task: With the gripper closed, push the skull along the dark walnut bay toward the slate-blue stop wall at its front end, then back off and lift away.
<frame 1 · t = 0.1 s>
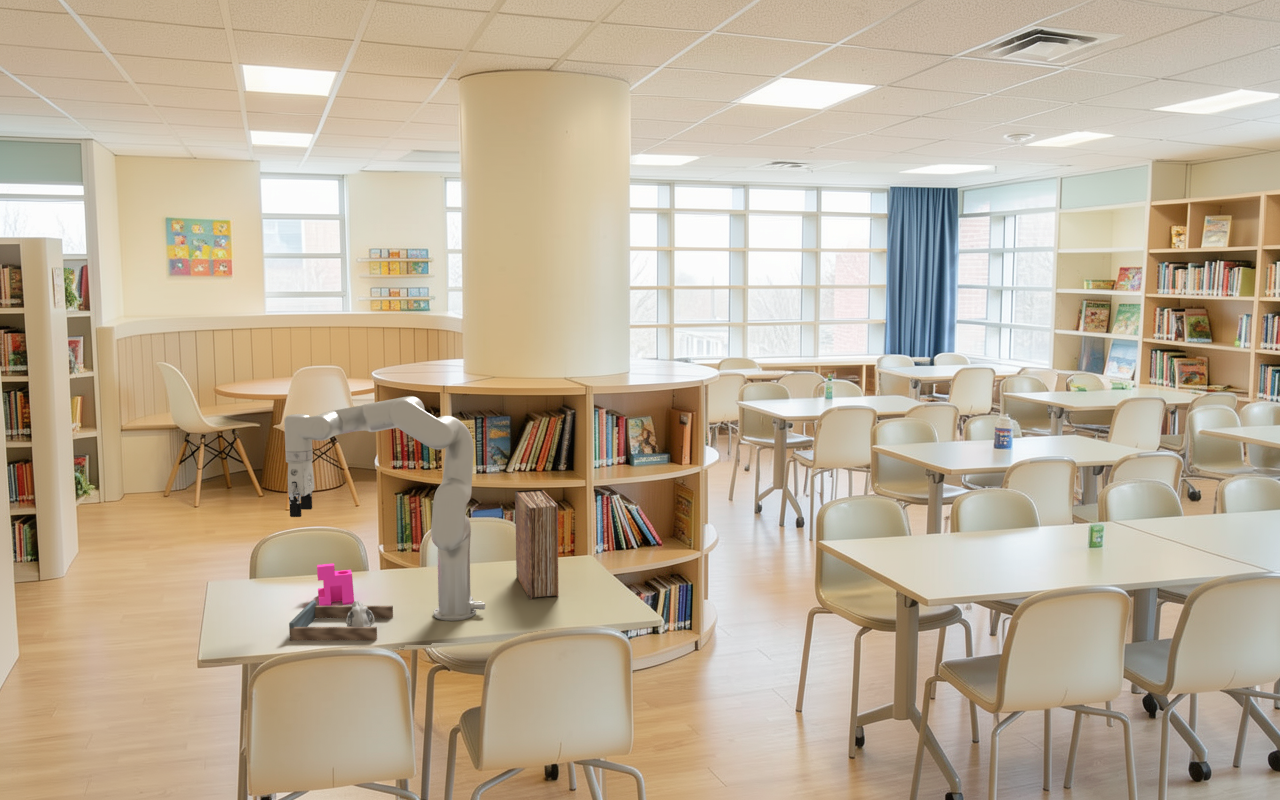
hand: (301, 513, 288), 31 cm above the table, tool pointing down, fingers open, 9 cm apart
skull: (360, 629, 280), on the table
bracket: (336, 600, 306), on the table
bay: (343, 628, 280), on the table
book: (536, 587, 319), on the table
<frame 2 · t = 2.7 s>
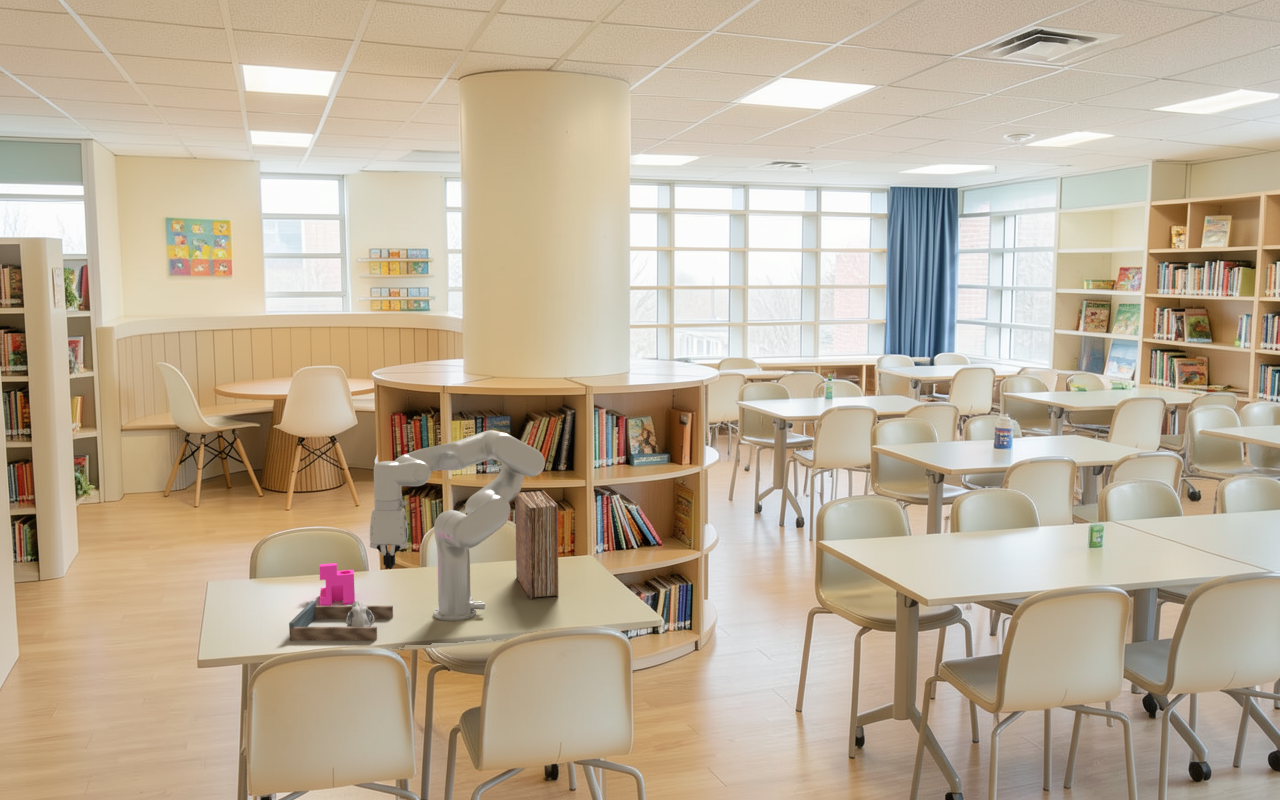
hand: (389, 567, 278), 18 cm above the table, tool pointing down, fingers closed
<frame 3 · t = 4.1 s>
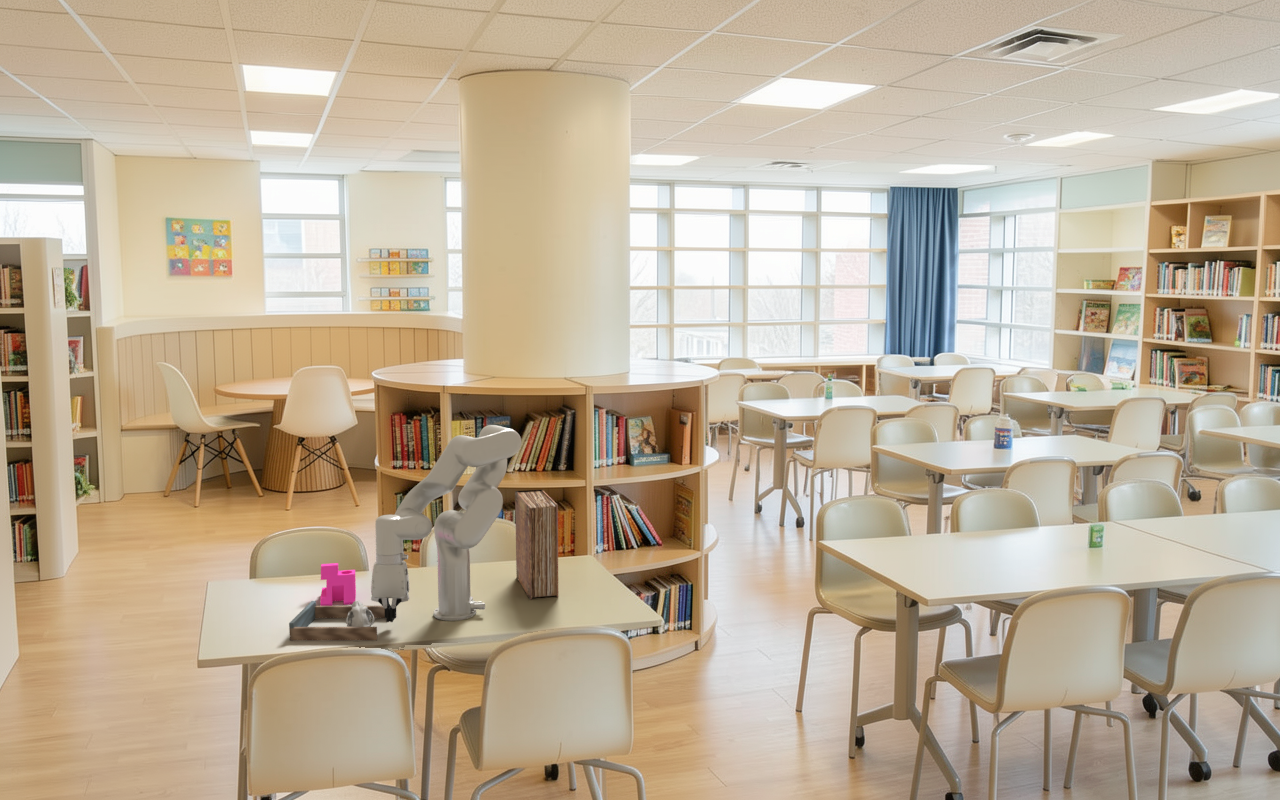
hand: (390, 620, 280), 2 cm above the table, tool pointing down, fingers closed
nothing on the table moved.
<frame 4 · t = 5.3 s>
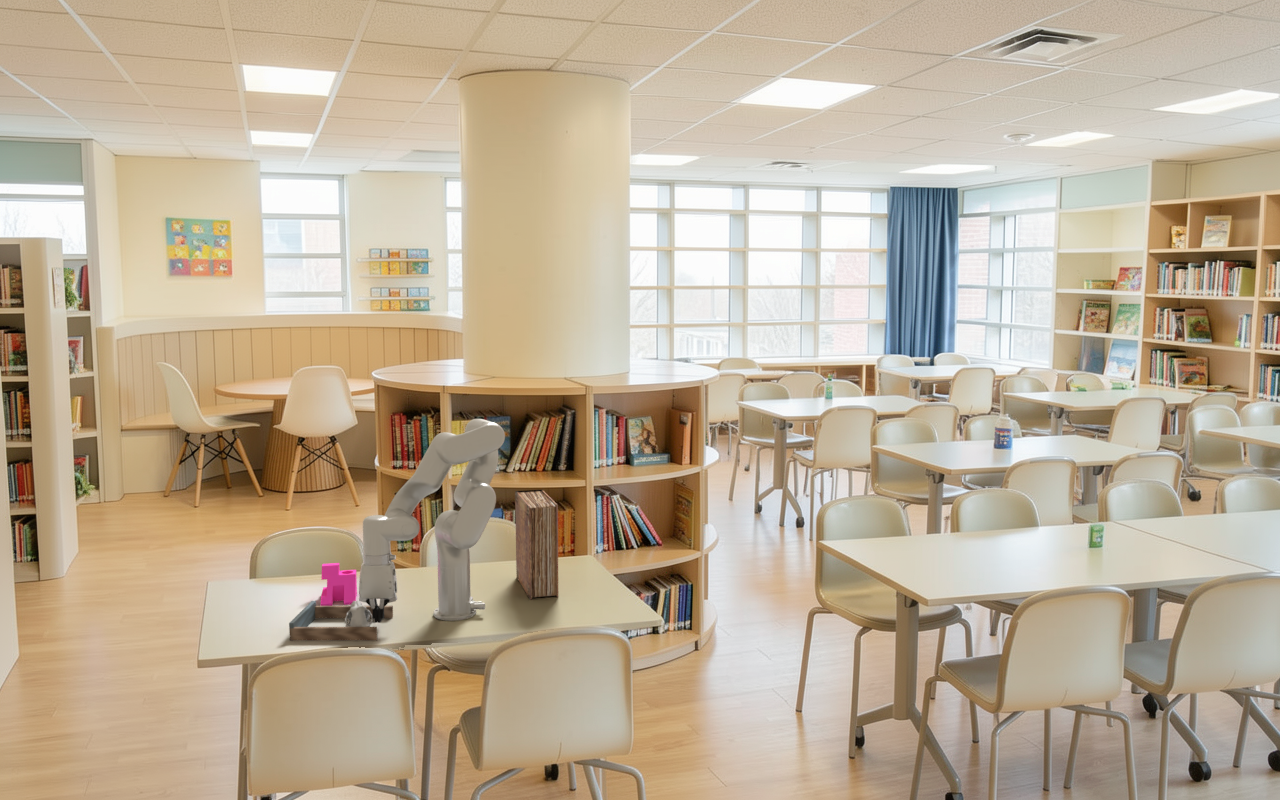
hand: (378, 620, 280), 2 cm above the table, tool pointing down, fingers closed
skull: (359, 629, 280), on the table, touching gripper
everything else where it was.
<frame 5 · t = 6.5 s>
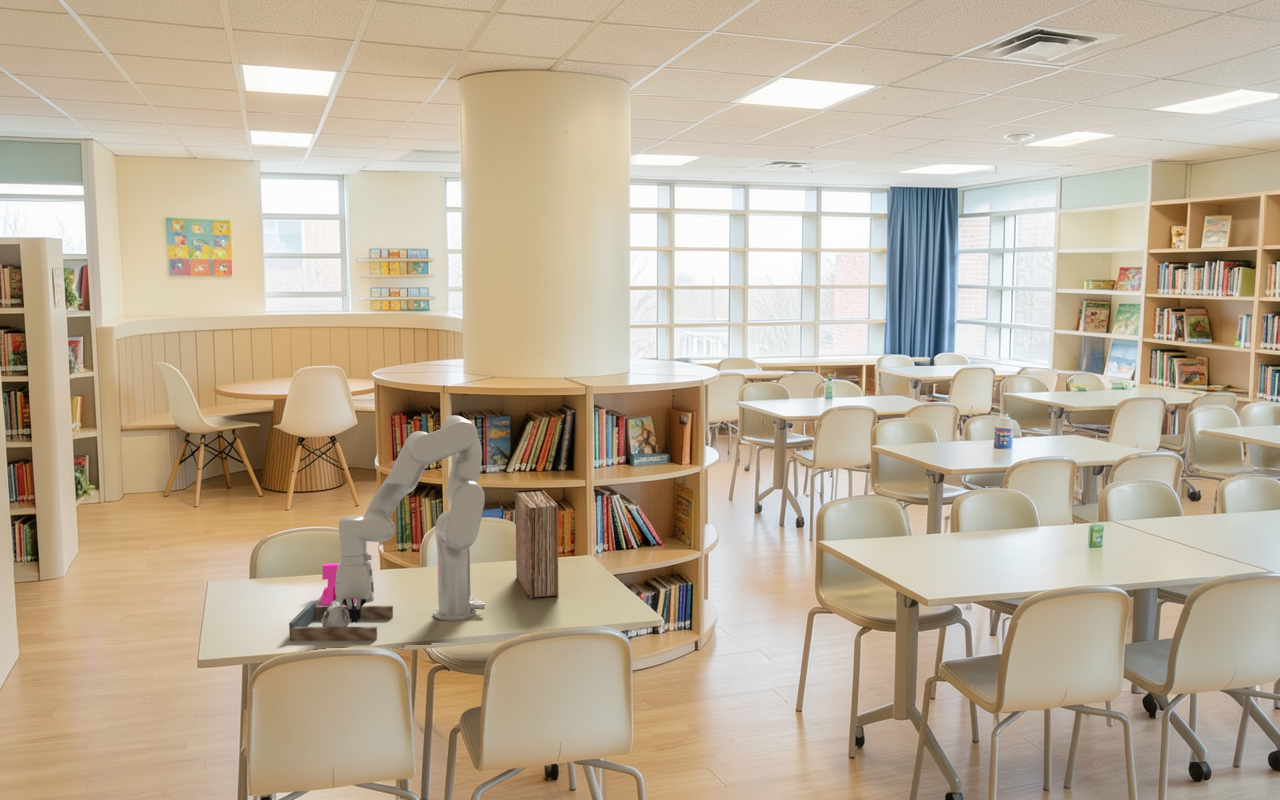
hand: (355, 621, 280), 2 cm above the table, tool pointing down, fingers closed
skull: (336, 629, 280), on the table, touching gripper
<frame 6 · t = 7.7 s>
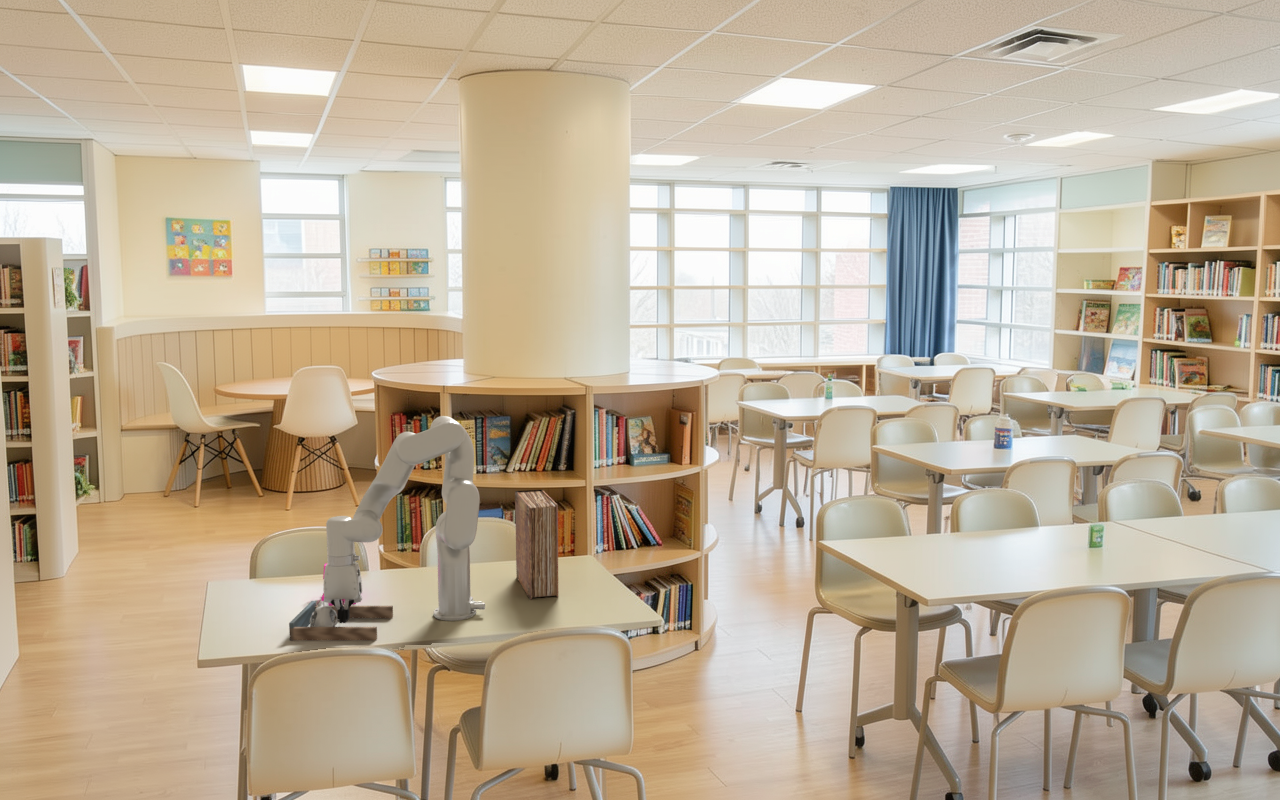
hand: (343, 621, 280), 2 cm above the table, tool pointing down, fingers closed
skull: (324, 629, 280), on the table, touching gripper
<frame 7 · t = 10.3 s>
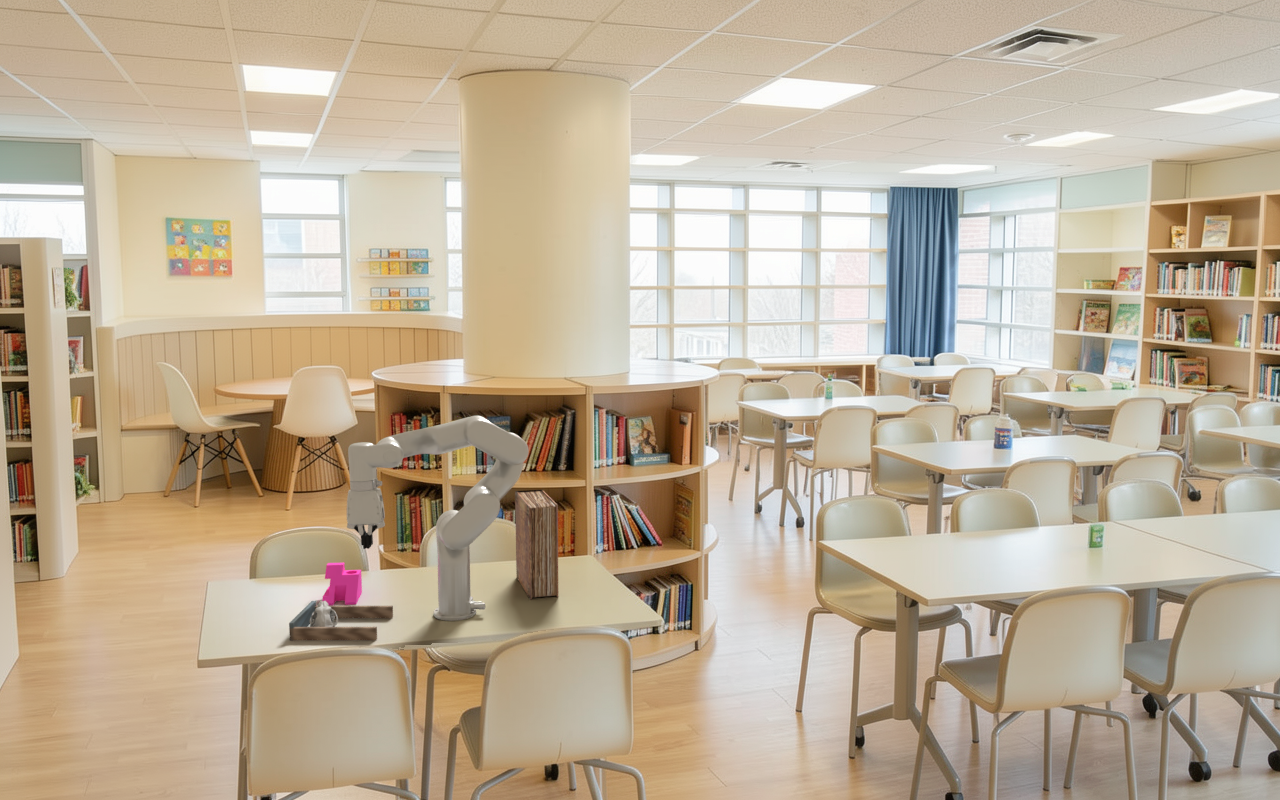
hand: (367, 547, 282), 23 cm above the table, tool pointing down, fingers closed
skull: (324, 629, 280), on the table
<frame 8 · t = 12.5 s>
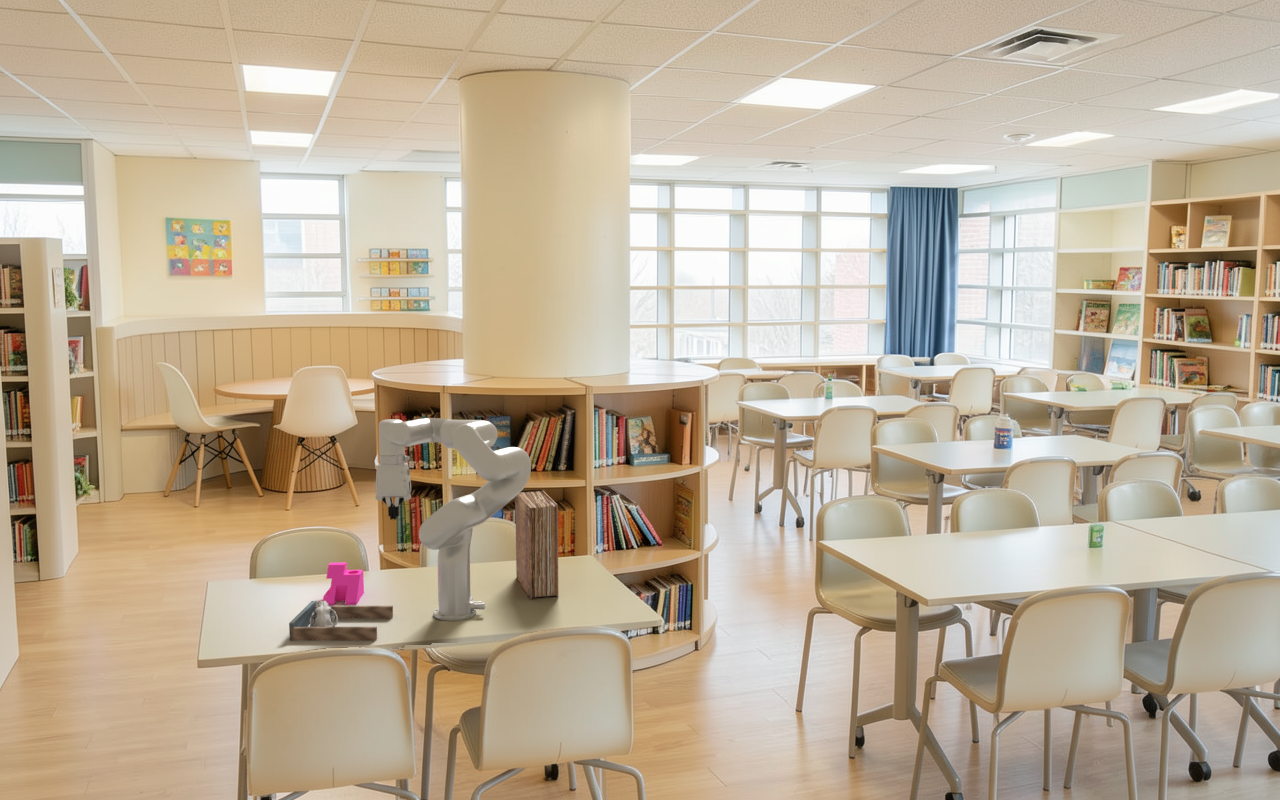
hand: (394, 518, 299), 27 cm above the table, tool pointing down, fingers closed
at the end: skull inside the target area on the bay (0.5 cm from its centre), point 0.0 cm above the bay's base; skull moved 10.3 cm from its start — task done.
